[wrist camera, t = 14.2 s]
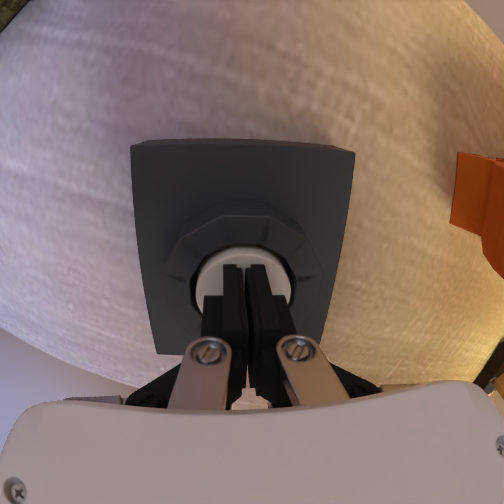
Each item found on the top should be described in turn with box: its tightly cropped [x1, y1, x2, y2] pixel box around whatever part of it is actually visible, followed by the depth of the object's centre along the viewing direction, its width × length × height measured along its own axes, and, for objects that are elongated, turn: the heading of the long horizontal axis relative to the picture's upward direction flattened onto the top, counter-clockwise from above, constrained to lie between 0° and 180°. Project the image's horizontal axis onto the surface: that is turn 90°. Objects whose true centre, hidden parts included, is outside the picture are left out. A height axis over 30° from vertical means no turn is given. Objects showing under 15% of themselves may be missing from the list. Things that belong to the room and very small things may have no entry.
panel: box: [474, 341, 504, 394], centre depth 28 cm, size 10×10×3 cm
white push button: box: [196, 244, 291, 313], centre depth 13 cm, size 4×4×2 cm
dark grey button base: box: [130, 138, 355, 355], centre depth 14 cm, size 12×10×5 cm
